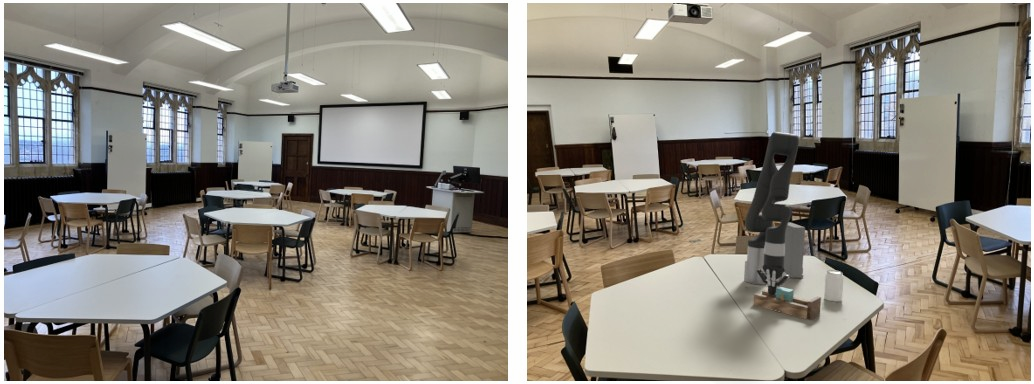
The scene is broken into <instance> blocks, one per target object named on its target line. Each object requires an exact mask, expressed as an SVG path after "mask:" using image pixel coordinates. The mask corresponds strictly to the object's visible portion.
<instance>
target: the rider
mask: <svg viewBox="0 0 1034 384" xmlns="http://www.w3.org/2000/svg"><path fill="white" fill-rule="evenodd" d="M794 291H795V290H794V289H792V288H787V287H782V286H780V287H777V289H776V298H777V299H781V294H783V295H784V300H785V301H789V302H793V297H794V294H795V293H794Z"/></svg>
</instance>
